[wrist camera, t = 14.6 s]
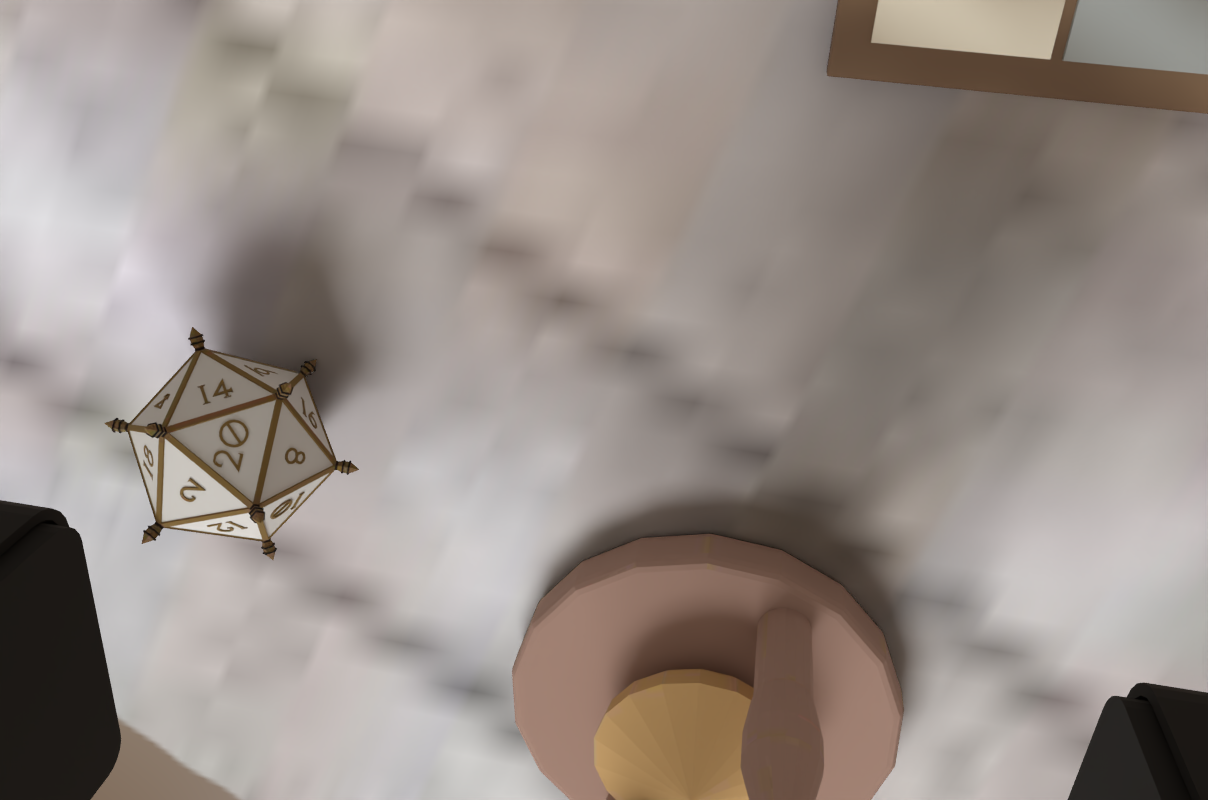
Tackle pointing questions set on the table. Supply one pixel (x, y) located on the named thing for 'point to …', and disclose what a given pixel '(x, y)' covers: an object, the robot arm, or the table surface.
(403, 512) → the table surface
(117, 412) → the table surface
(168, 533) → the table surface
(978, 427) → the table surface
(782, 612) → the wooden pedestal stand
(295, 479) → the game die
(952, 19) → the board
